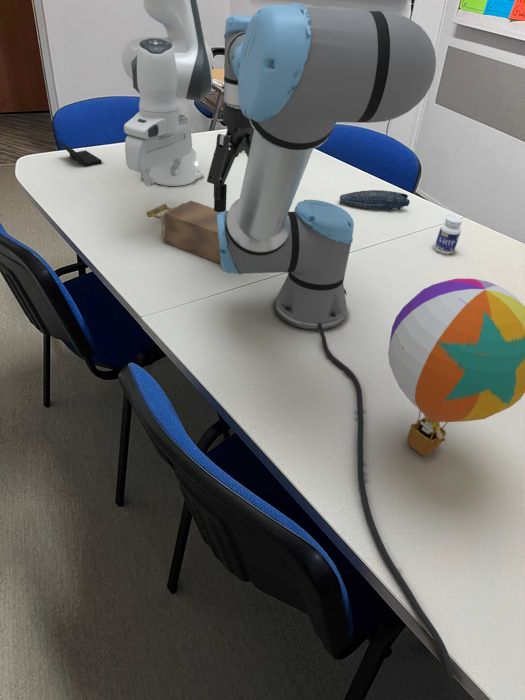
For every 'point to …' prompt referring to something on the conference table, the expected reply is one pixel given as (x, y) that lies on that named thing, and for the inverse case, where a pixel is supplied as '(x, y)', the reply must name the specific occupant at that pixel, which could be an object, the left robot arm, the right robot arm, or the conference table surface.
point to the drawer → (161, 215)
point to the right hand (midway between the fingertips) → (236, 202)
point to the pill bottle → (448, 235)
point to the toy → (458, 355)
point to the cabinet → (194, 230)
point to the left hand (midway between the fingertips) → (162, 180)
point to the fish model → (376, 199)
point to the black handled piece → (82, 156)
